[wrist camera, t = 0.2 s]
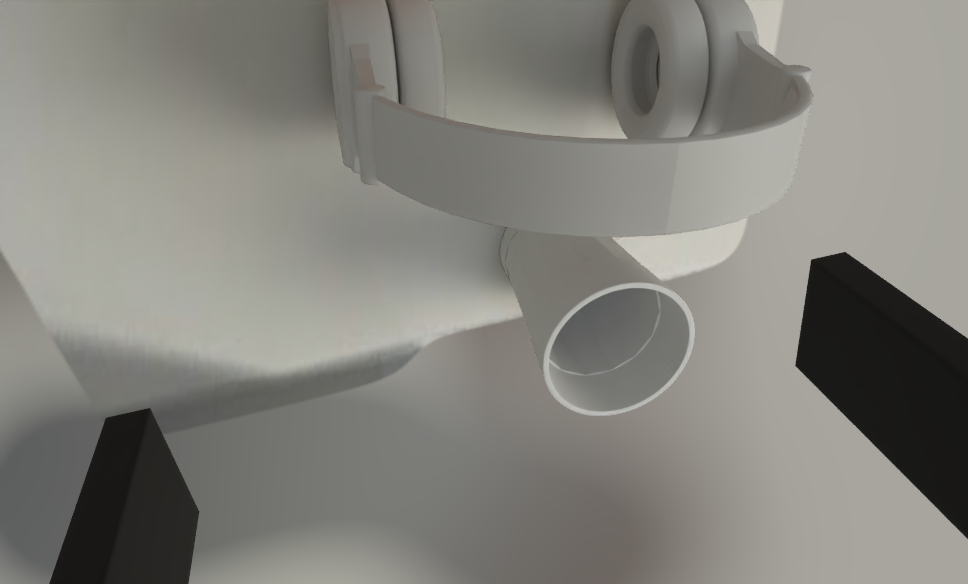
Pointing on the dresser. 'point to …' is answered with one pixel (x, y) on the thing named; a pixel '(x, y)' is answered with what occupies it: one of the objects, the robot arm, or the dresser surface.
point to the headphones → (570, 160)
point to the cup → (597, 320)
